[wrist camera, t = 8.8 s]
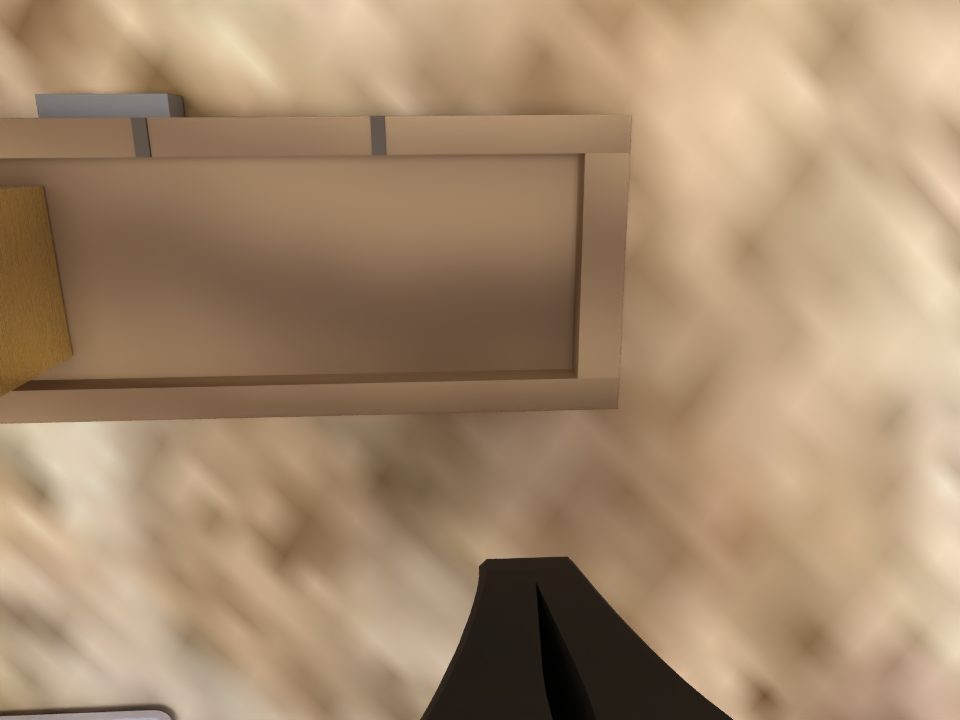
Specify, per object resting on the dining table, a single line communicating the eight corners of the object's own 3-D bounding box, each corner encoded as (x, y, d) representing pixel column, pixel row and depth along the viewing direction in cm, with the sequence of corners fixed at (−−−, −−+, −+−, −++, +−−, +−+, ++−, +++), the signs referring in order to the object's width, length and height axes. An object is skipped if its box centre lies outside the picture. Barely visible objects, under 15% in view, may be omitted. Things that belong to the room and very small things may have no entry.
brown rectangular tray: (593, 394, 20) (617, 433, 18) (-291, 414, 19) (-413, 459, 17) (605, 94, 18) (634, 84, 15) (-396, 99, 17) (-559, 90, 14)
